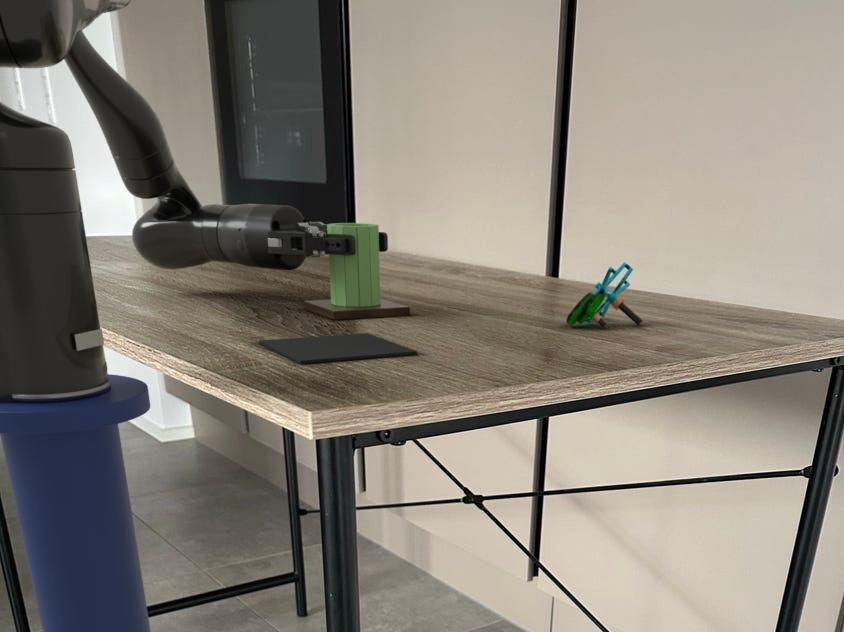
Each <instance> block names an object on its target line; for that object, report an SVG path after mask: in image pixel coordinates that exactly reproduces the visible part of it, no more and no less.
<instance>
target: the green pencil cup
mask: <svg viewBox="0 0 844 632" xmlns="http://www.w3.org/2000/svg"><path fill="white" fill-rule="evenodd" d="M327 224H328V225H327V233H328V234H346V235H353V236H354V237H355V250H356V252H355V254H354V255H336V254H328V267H329V268H328V269H329V287H330V300H331V304H333V305H336V306H343V307H370V306H376V305H380V303H381V299H382V296H381V293H382V292H381V265H380V264H381V263H380V260H381V259H380V252H379V232H380V230H379V229H380V228H379V224H376V223H366V222H365V223H363V222H362V223H361V222H339V223H338V222H337V223H336V222H335V223H334V222H333V223H327Z"/></svg>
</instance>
